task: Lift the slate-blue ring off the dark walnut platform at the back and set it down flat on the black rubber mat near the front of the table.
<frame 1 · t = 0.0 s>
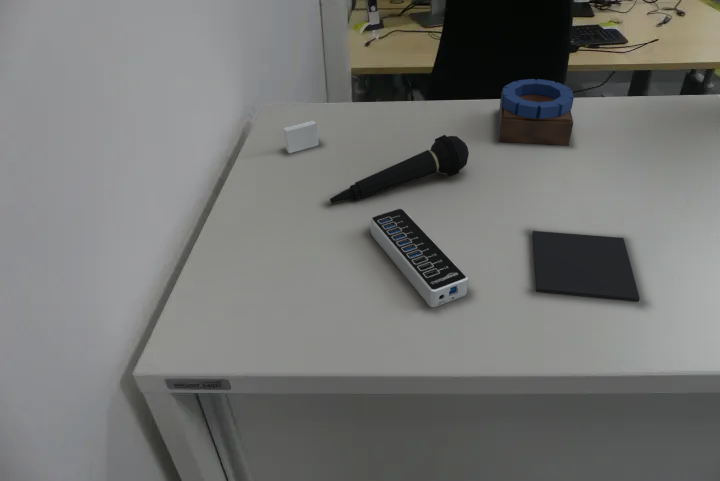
multiport hub: (415, 262, 63), on the table
platform: (532, 127, 86), on the table
mat: (581, 264, 61), on the table
eraser: (302, 148, 85), on the table
microphone: (399, 184, 76), on the table
ring: (535, 103, 84), point 4 cm above the table, touching platform
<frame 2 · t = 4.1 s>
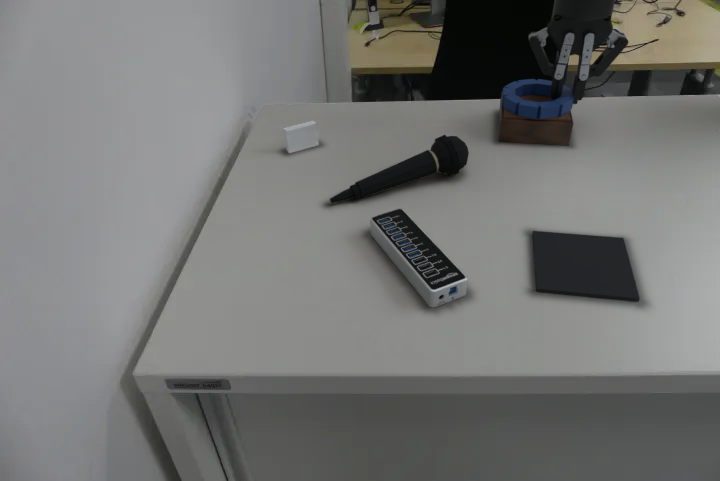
hand: (565, 101, 83), 5 cm above the table, tool pointing down, fingers closed on ring, 2 cm apart
ring: (536, 103, 84), point 4 cm above the table, touching gripper
everything else where it was.
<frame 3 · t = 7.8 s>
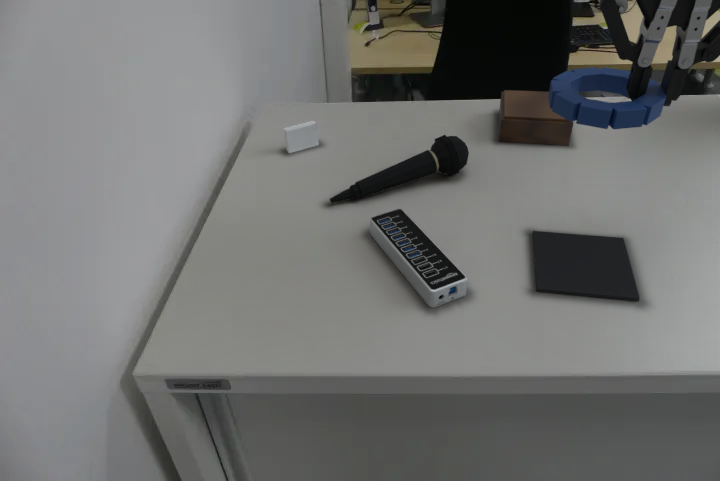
hand: (649, 101, 53), 17 cm above the table, tool pointing down, fingers closed on ring
ring: (602, 105, 54), point 17 cm above the table, touching gripper
everything else where it was.
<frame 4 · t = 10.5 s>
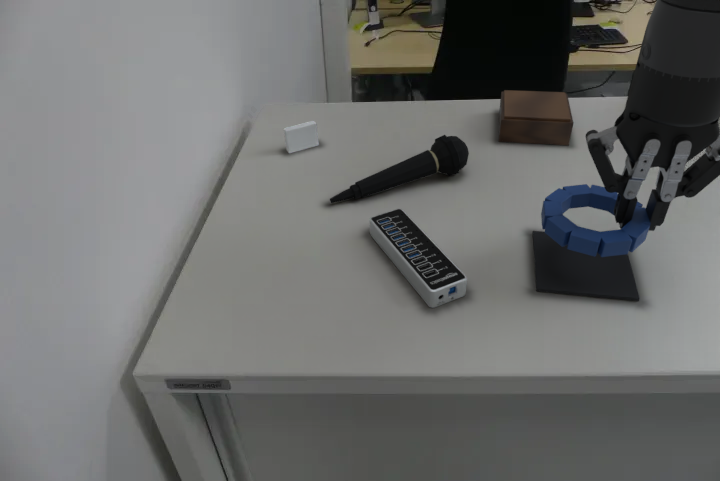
hand: (635, 224, 57), 6 cm above the table, tool pointing down, fingers closed on ring, 2 cm apart
ring: (591, 225, 58), point 5 cm above the table, touching gripper
everything else where it was.
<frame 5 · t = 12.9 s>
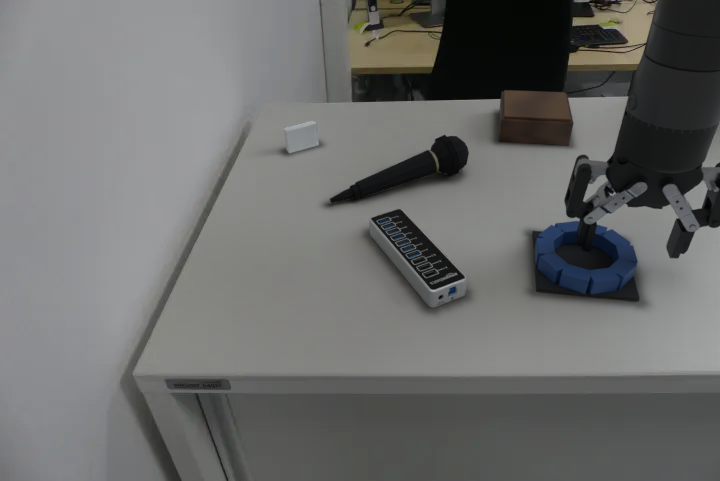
hand: (627, 250, 59), 3 cm above the table, tool pointing down, fingers open, 8 cm apart
ring: (582, 261, 61), resting on mat
everything else where it was.
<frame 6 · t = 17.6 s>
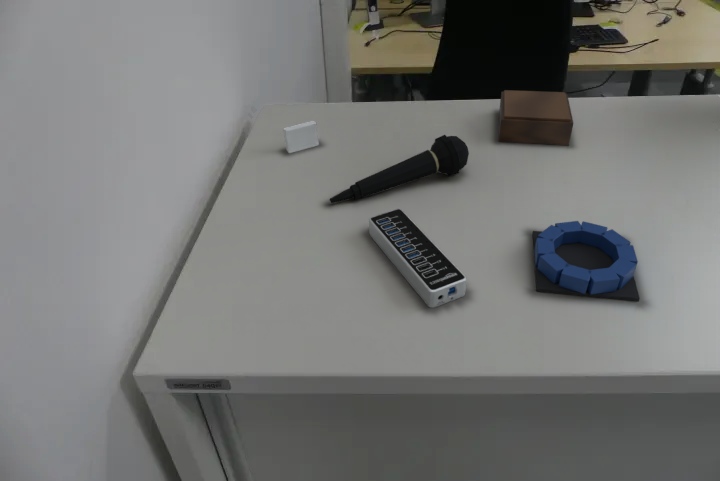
nothing on the table moved.
at the end: ring 0.0 cm off-centre on the mat, point 0.4 cm above the mat's base; ring touching mat; ring tilted 0° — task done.
